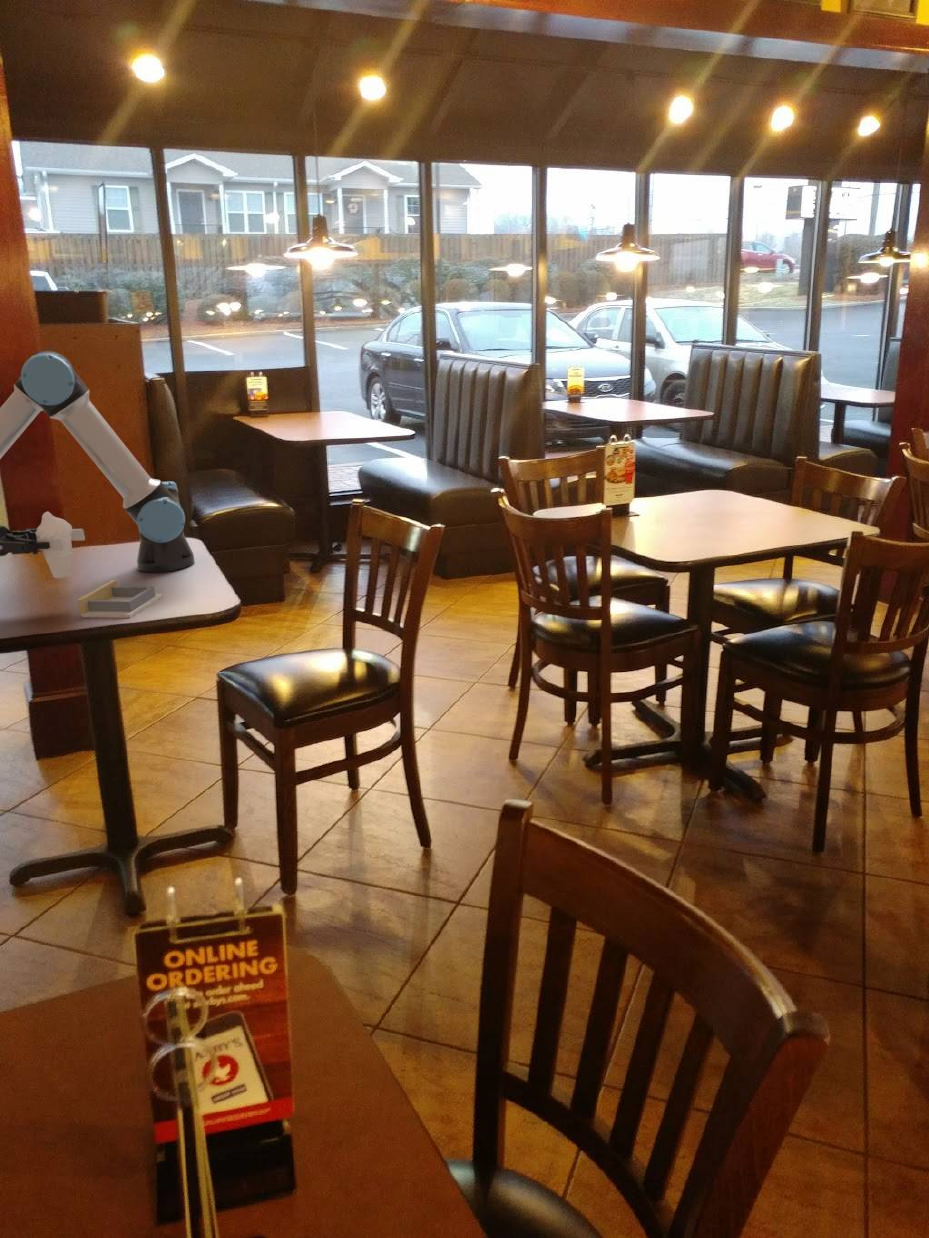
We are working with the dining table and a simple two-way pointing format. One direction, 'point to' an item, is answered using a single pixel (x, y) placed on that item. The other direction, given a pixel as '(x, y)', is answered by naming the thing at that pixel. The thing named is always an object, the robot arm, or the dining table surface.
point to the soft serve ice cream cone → (57, 558)
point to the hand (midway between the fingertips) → (73, 539)
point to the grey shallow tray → (117, 600)
